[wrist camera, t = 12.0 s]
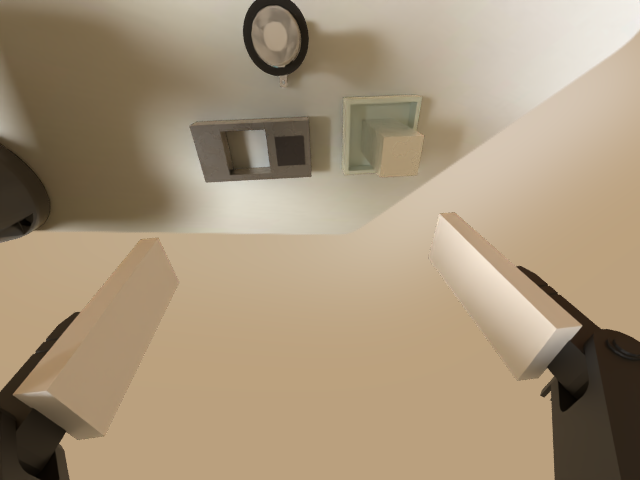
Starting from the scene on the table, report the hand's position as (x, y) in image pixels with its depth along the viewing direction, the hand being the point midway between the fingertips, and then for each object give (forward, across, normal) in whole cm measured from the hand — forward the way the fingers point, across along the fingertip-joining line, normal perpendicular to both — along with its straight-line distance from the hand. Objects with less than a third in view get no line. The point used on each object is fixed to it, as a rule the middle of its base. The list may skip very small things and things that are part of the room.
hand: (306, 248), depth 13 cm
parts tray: (+26, +11, -1) cm, 28 cm away
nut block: (+25, +11, -1) cm, 27 cm away
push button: (+26, 0, +8) cm, 28 cm away
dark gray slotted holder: (+26, -5, -2) cm, 27 cm away
